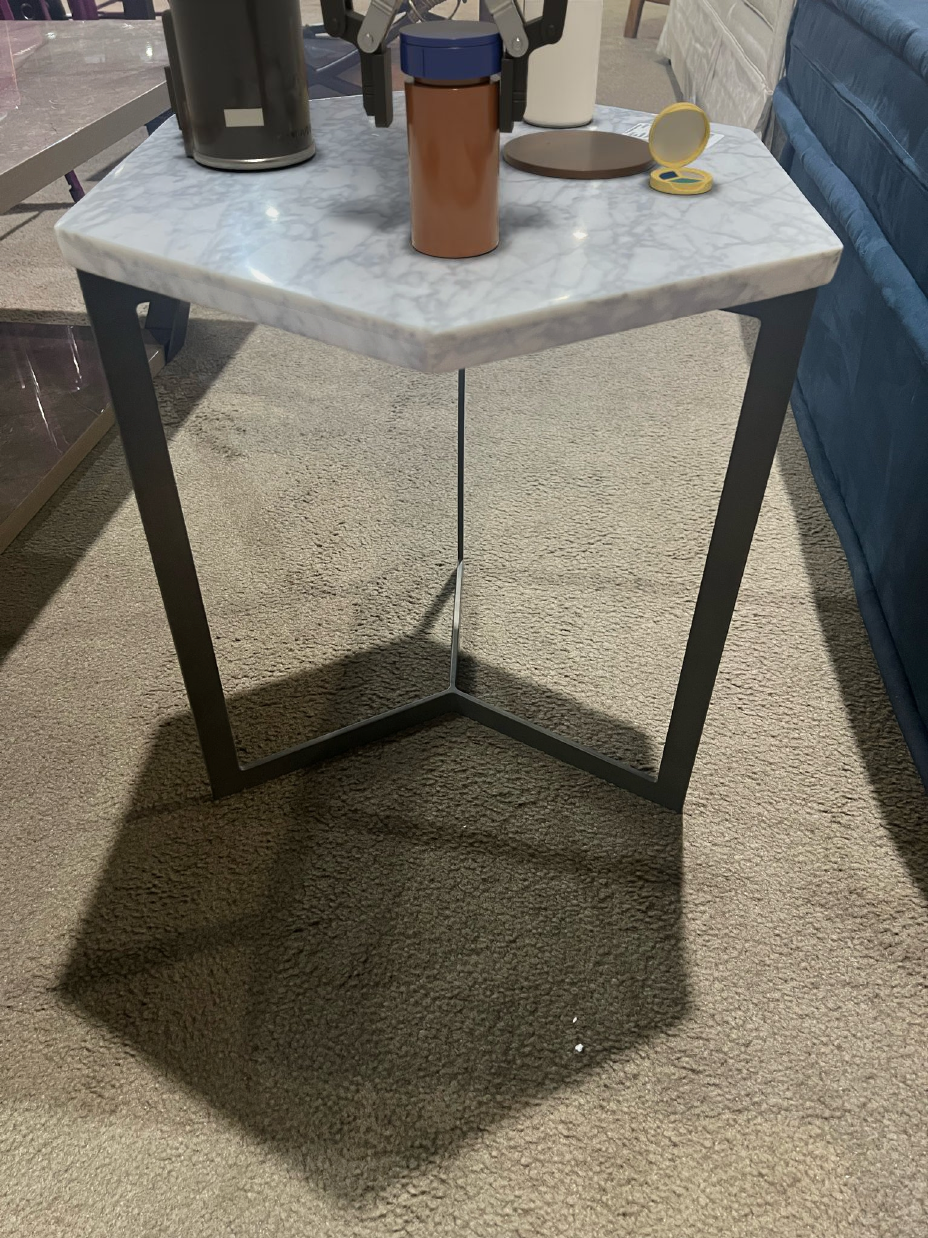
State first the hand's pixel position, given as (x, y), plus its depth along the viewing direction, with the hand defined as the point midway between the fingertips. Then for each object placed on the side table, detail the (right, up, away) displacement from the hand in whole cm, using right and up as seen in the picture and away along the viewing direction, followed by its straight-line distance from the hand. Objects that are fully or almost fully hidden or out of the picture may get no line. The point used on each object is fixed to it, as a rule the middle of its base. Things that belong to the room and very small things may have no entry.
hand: (445, 126), depth 53 cm
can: (+9, +16, +29) cm, 34 cm away
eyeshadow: (+17, +3, +14) cm, 22 cm away
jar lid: (0, +3, -3) cm, 4 cm away
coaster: (+10, +8, +20) cm, 23 cm away
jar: (+1, -5, +4) cm, 7 cm away
